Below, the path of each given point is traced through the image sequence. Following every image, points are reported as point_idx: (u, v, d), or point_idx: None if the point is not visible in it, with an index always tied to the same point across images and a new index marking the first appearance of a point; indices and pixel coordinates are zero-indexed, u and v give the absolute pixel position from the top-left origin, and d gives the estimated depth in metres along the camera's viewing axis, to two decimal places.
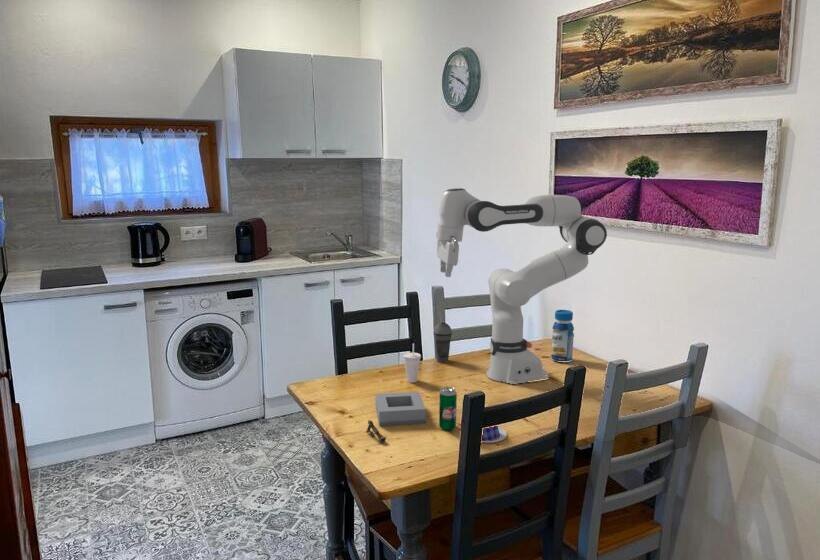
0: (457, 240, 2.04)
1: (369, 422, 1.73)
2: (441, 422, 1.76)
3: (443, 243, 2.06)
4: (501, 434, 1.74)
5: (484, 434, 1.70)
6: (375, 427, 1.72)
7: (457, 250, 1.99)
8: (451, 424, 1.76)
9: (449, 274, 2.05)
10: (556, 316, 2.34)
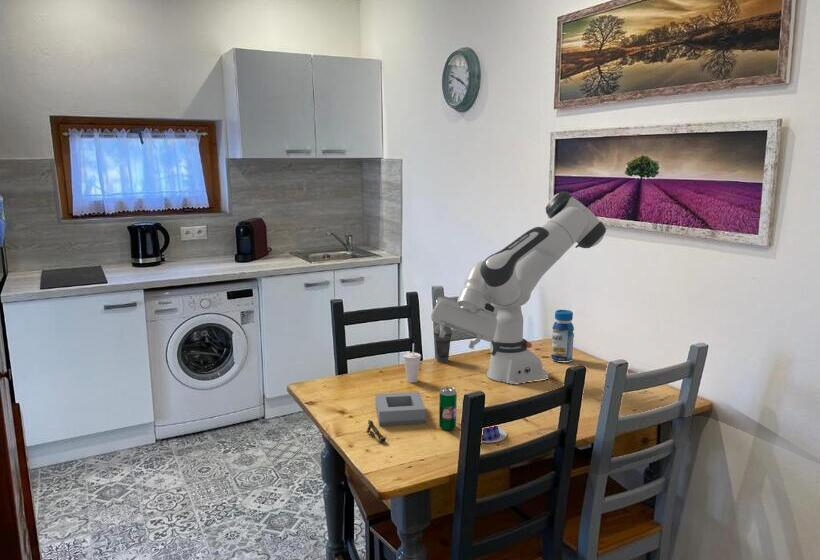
0: (458, 301, 1.86)
1: (369, 422, 1.73)
2: (441, 422, 1.76)
3: None
4: (501, 434, 1.74)
5: (485, 434, 1.70)
6: (375, 427, 1.72)
7: (437, 303, 1.86)
8: (451, 424, 1.76)
9: (440, 332, 1.82)
10: (556, 316, 2.34)
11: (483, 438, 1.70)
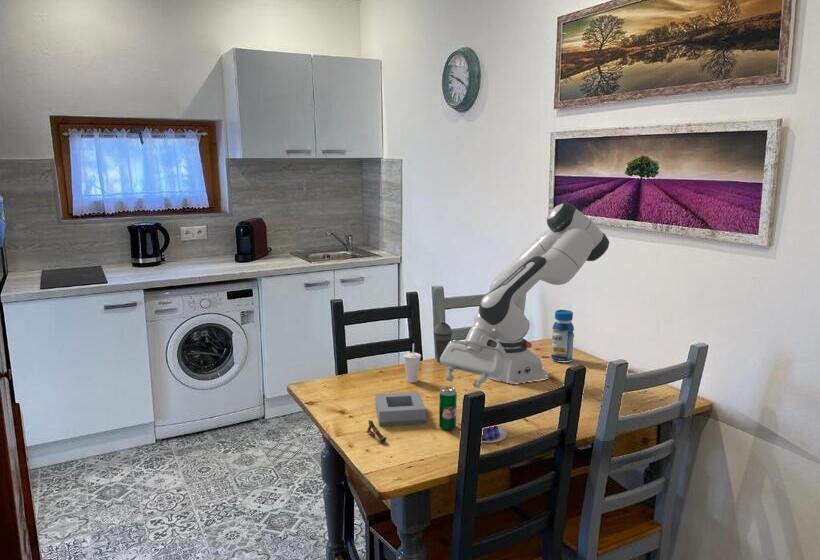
0: (464, 342, 1.86)
1: (370, 422, 1.73)
2: (441, 422, 1.76)
3: None
4: (501, 433, 1.74)
5: (485, 434, 1.70)
6: (375, 427, 1.71)
7: None
8: (451, 424, 1.76)
9: None
10: (556, 316, 2.34)
11: (484, 438, 1.70)
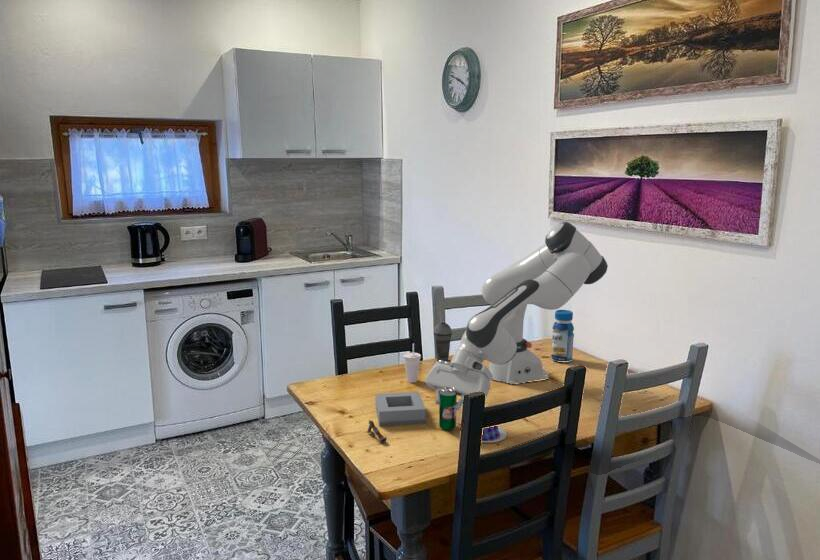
0: (450, 363, 1.83)
1: (370, 422, 1.73)
2: (441, 422, 1.76)
3: None
4: (501, 433, 1.74)
5: (486, 434, 1.70)
6: (376, 427, 1.71)
7: None
8: (451, 424, 1.76)
9: None
10: (556, 316, 2.34)
11: (484, 438, 1.70)
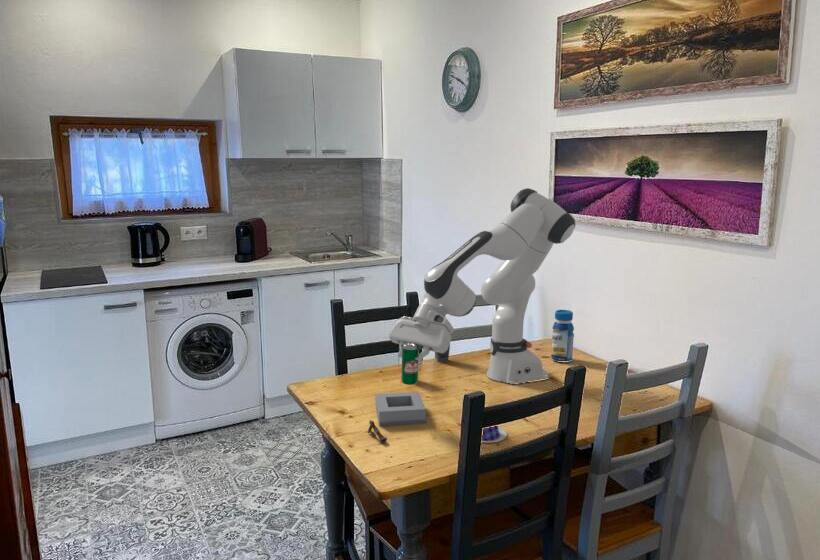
0: (413, 318, 1.87)
1: (370, 422, 1.72)
2: (403, 377, 1.80)
3: None
4: (500, 433, 1.75)
5: (487, 434, 1.70)
6: (376, 427, 1.71)
7: None
8: (413, 379, 1.80)
9: None
10: (556, 316, 2.34)
11: (485, 438, 1.70)
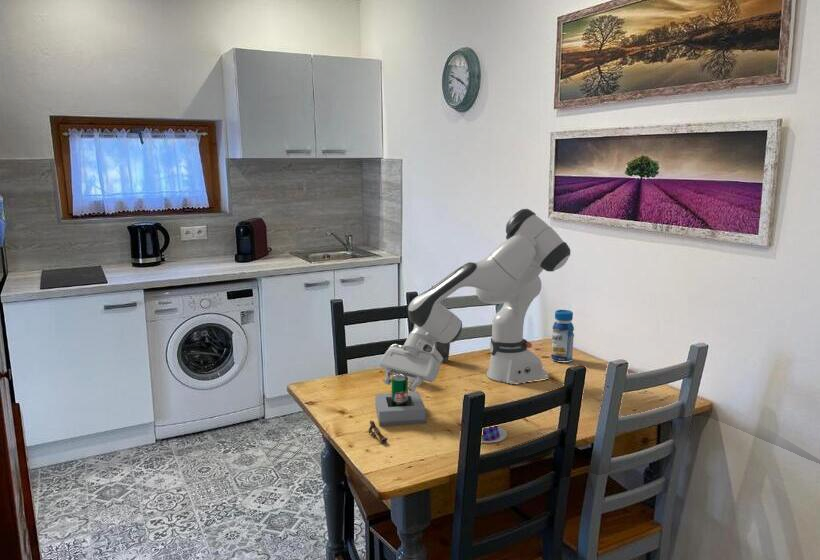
0: (403, 346, 1.91)
1: (371, 422, 1.72)
2: (393, 406, 1.85)
3: None
4: (500, 432, 1.75)
5: (488, 434, 1.70)
6: (377, 428, 1.71)
7: None
8: None
9: None
10: (556, 316, 2.34)
11: (487, 438, 1.70)
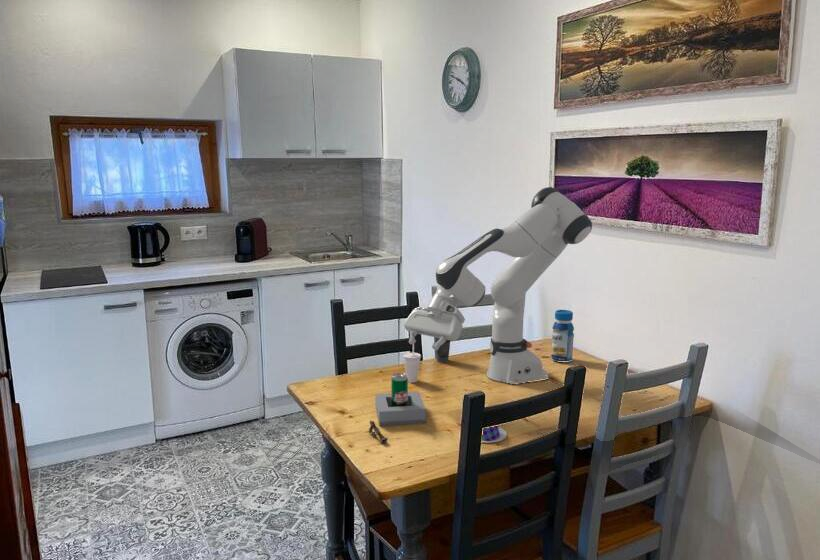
0: None
1: (371, 423, 1.72)
2: None
3: None
4: (500, 432, 1.75)
5: (489, 434, 1.70)
6: (377, 428, 1.71)
7: None
8: None
9: None
10: (556, 316, 2.34)
11: (487, 438, 1.70)
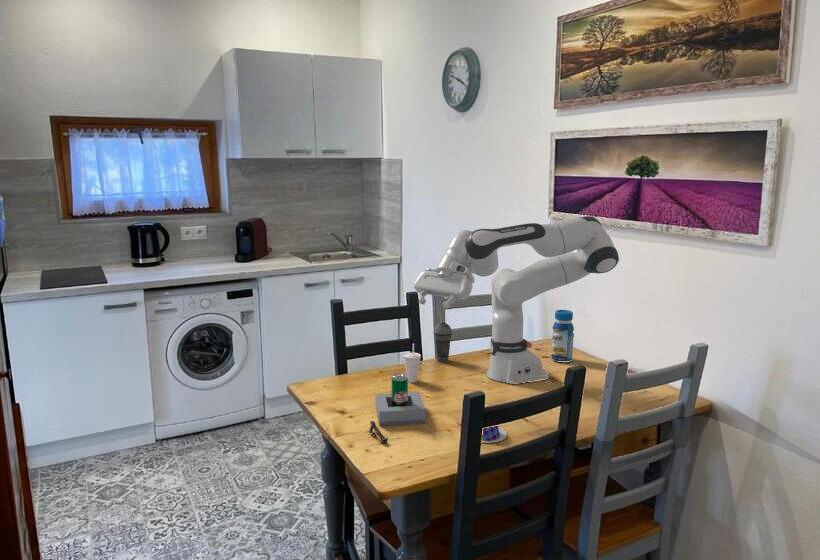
0: None
1: (371, 423, 1.72)
2: None
3: None
4: (499, 431, 1.75)
5: (489, 434, 1.70)
6: (377, 428, 1.71)
7: None
8: None
9: None
10: (556, 316, 2.34)
11: (488, 438, 1.70)
